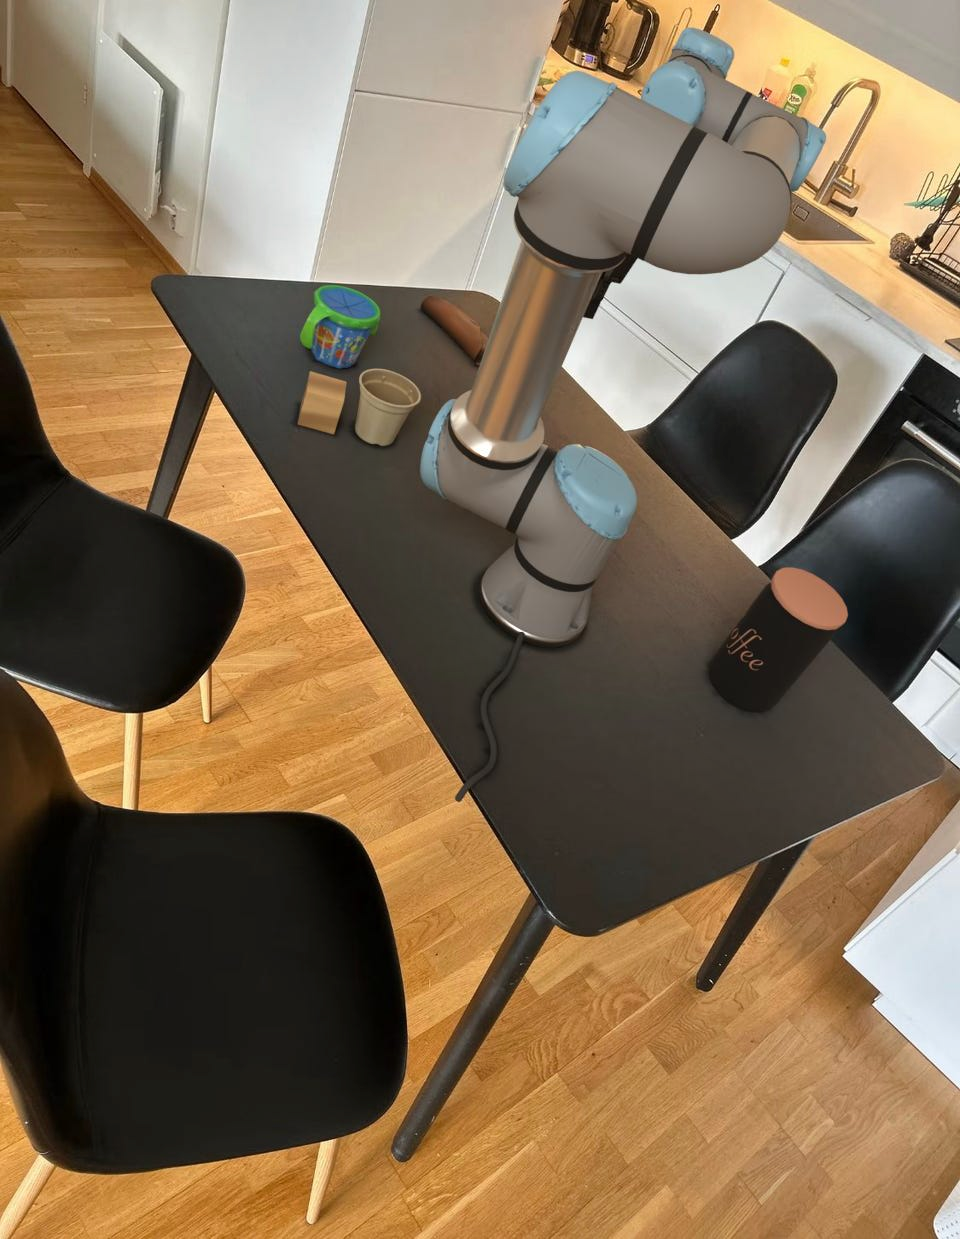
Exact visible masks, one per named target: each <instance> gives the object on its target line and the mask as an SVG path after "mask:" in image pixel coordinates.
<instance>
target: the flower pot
mask: <svg viewBox="0 0 960 1239" xmlns="http://www.w3.org/2000/svg"><path fill="white" fill-rule="evenodd" d="M358 382H359V383H358V384H359V392H360V394H359V400H358V407H357V413H356V417H355V418H356V419H355V424H354V429H355V433H356V435H357V436H358V437H359V438H360V439H361V440H362V441H364V442H366V443H368V444H370V445H378V446H380V447H386V446H389V445H392V444H393V443H394V441H395V439H396V438H397V435H398V434H399V432H400V430H401V429H402V426H403V425H404V423H405V421H406V419H407V418H408V416H409V414H410V412H412V411H413V410H414V408H415V407H416V406H417V405H418V404H419V403H420V402H421V400H422V394H421V390H420V389H419V387H418V386H417V385H416V384H415V383H414V382H413V381H411V380H410V379H409V378H407V377H406V376H404V375H402V374H400V373H398V372H395V371H392V370H389V369H385V368H370V369H366V370H364V371H362V372H361V373H360V375H359V378H358Z"/></svg>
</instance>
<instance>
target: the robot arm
mask: <svg viewBox="0 0 960 1239" xmlns="http://www.w3.org/2000/svg"><path fill="white" fill-rule="evenodd" d="M734 59H735V50H734V48H733V47H732V46H731V45H730V44H729V43H727V42H726V41H725V40H723V39H721V38H720V37H719V36H715V35H714V34H713V33H709V32H707V31H705V30H702V29H700V28H696V27H694V26H693V27H692V26H690V27H686V28H684V29H683V30H682V31H681V33H680V35H679V37H678V39H677V41H676V43H675V45H673V46H672V48H671V53H670V56H669V58H668V60H667V61H666V62H664V63H662V64H661V65H659V66H658V67H657V68H655V70H654V71H653V72H652V73H651V74H650V76H649V78H648V79H647V81H646V83H645V84H644V85H643V88H642V91H641V95H640V97H638V96H636V95H633V94H631V93H630V92H628V91H626V90H624V89H622V88H621V87H618V84H617V82H612V81H611V82H607V81H605V80H603V79H601V78H599V77H596V76H595V75H592V74H589V73H587V72H585V71H581V70H572V71H569V72H567V73H565V74H564V75H562V76H561V77H559V79H558V80H557V81H556V82H555V83H554V84H553V85H552V87H551V88H550V89H549V91H548V92H547V93H546V95H545V96H544V98H543V100H542V101H541V102H540V104H539V105H538V108H537V109H536V110H535V112H534V114H533V116H532V117H531V119H530V121H529V122H528V124H527V126H526V128H525V130H524V131H523V133H522V135H521V137H520V139H519V140H518V143H517V145H516V147H515V149H514V151H513V153H512V155H511V157H510V159H509V162H508V164H507V167H506V168H505V169H506V170H505V172H504V176H503V182H502V186H503V188H504V190H505V191H506V192H507V193H509V196H511V197H514V198H516V197H517V201H516V205H515V208H514V212H513V225H514V229H515V231H516V234H517V235H518V236H519V239H520V243H519V246H518V248H517V252H516V255H515V258H514V261H513V264H512V267H511V270H510V273H509V276H508V279H507V282H506V285H505V288H504V291H503V294H502V297H501V300H500V303H499V305H498V309H497V312H496V316H495V318H494V321H493V324H492V328H491V330H490V333H489V336H488V342H487V345H486V348H485V351H484V354H483V357H482V360H481V363H480V366H478V369H477V372H476V375H475V378H474V381H473V385H472V387H471V389H470V390H467V391H466V392H464V393H462V394H460V395H459V396H458V398H452V399H449V400H448V401H446V402H445V403H444V405H442V407H441V408H440V409H439V411H438V413H437V415H435V417H434V420H433V421H432V423H431V426H430V428H429V431H428V435H427V438H426V441H425V442H424V445H423V448H422V452H421V456H420V464H419V465H420V466H419V472H420V473H419V475H420V479H421V481H422V482H423V484H424V485H425V487H426V488H428V489H430V490H431V491H433V493H436V494H437V495H440V496H441V498H443V500H446V501H448V502H451V503H453V504H455V505H457V506H459V507H461V508H463V509H464V510H467V511H468V512H471V513H473V514H474V515H476V516H478V517H479V518H482V519H484V520H487V521H488V522H490V523H492V524H494V525H496V526H497V527H500V528H501V529H504V530H506V531H508V532H510V533H512V534H514V535H516V536H517V538H516V540H515V541H514V543H513V545H511V546H510V547H509V548H508V549H507V550H505V552H503V553H502V554H501V555H500V556H499V557H498V558H497V559H496V560H495V561H494V562H492V563H491V564H490V565H489V567H487V569H486V570H485V572H484V574H483V575H482V577H481V580H480V582H479V584H478V598H479V602H480V604H481V607H482V609H483V611H484V612H485V614H486V615H487V616H488V618H489V619H490V620H491V621H492V622H493V623H494V624H495V625H496V626H497V627H498V628H499V629H500V630H502V631H503V632H504V633H506V634H508V635H509V636H511V637H513V638H514V639H516V640H515V642H514V645H513V647H512V650H511V652H510V656H509V658H508V660H507V663H506V665H505V667H504V668H503V670H502V671H501V672H500V673H499V675H497V677H496V678H495V679H494V680H492V681H491V683H490V684H488V686H487V687H486V689H485V690H484V692H483V694H482V696H481V699H480V705H479V707H480V708H479V712H480V713H479V714H480V719H481V722H482V726H483V729H484V732H485V734H486V737H487V740H488V745H489V759H488V761H487V763H486V764H485V766H484V767H483V768H482V769H480V770H479V771H478V772H476V773H474V774H473V775H472V776H470V777H469V778H468V779H467V780H466V781H465V783H463V785H462V786H461V787H460V788H459V790H458V792H457V793H456V795H455V797H454V800H455V802H457V803H460V802H462V801H463V799H464V798H465V797H466V795H467V793H468V792H469V790H470V789H471V788H472V787H473V786H474V785H475V784H476V783H477V782H479V781H480V780H481V779H483V778H484V777H486V776H487V775H489V774H490V773H491V771H493V769H494V767H495V765H496V763H497V759H498V745H497V739H496V736H495V733H494V730H493V728H492V725H491V722H490V719H489V715H488V703H489V699H490V697H491V695H492V694H493V692H494V691H495V689H496V688H497V687H498V686H499V685H500V684H501V683H502V682H503V681H504V680H505V679H506V678H507V677H508V676H509V674H510V672H511V671H512V669H513V667H514V665H515V663H516V660H517V659H518V658H517V657H518V655H519V652H520V649H521V647H522V644H523V643H526V644H528V645H532V646H535V647H539V648H548V649H551V648H554V649H555V648H561V647H565V646H568V645H570V644H572V643H574V642H575V641H576V640H577V639H578V638H579V637H580V635H581V634H582V632H583V630H584V628H585V627H586V625H587V622H588V619H589V615H590V614H589V613H590V606H591V601H592V594H593V593H592V592H593V587H594V586H595V583H596V581H597V579H598V578H599V576H600V574H601V573H602V570H603V569H604V567H605V565H606V564H607V562H608V560H609V559H610V557H611V555H612V553H613V551H614V549H615V548H616V546H617V544H618V543H619V541H620V539H621V538H623V537H624V536H625V534H626V533H627V531H628V528H629V525H630V522H631V520H632V518H633V516H634V514H635V512H636V511H637V510H636V509H637V505H638V496H637V491H636V488H635V486H634V484H633V482H632V481H631V480H630V477H629V475H628V474H627V472H626V471H625V470H624V469H623V467H621V466H620V464H618V463H617V462H616V461H615V460H614V459H612V458H611V457H609V455H606V454H605V453H604V452H601V451H600V450H598V449H596V448H593V447H591V446H588V445H584V446H582V445H581V444H578V443H573V444H568V445H565V446H564V447H562V448H561V449H559V450H556V449H555V448H552V447H550V446H549V445H547V444H545V443H544V440H545V426H544V422H543V419H542V418H541V416H542V414H543V411H544V409H545V406H546V404H547V402H548V400H549V397H550V395H551V393H552V391H553V388H554V385H555V383H556V381H557V378H558V376H559V375H560V372H561V369H562V367H563V364H564V362H565V360H566V358H567V355H568V353H569V351H570V348H571V346H572V343H573V342H574V339H575V337H576V335H577V332H578V330H579V327H580V325H581V323H582V320H583V318H584V319H590V320H594V318H595V316H596V313H597V312H598V310H599V307H600V305H601V302H602V301H603V300H604V299H605V296H606V294H607V291H608V289H609V287H610V285H611V284H612V283H614V284H618V285H620V284H622V283H623V281H624V280H625V278H626V277H627V275H628V274H629V273H630V271H631V269H632V268H633V266H634V265H635V263H636V262H637V260H641V261H642V262H645V263H647V264H650V265H651V266H653V267H655V268H658V269H661V270H665V271H668V272H671V273H677V274H683V275H713V274H721V273H725V272H729V271H733V270H737V269H741V268H743V267H745V266H748V265H749V264H751V263H753V262H756V261H758V260H759V259H760V258H761V257H763V256H764V255H766V254H767V253H768V252H769V251H770V250H772V248H773V247H774V246H775V245H776V244H777V243H778V241H780V240H779V239H780V238H781V236H782V235H783V233H784V231H785V230H786V228H787V224H788V222H789V218H790V216H791V211H792V205H793V195H792V193H795V192H796V191H798V190H800V188H801V187H802V186H803V184H804V183H805V181H806V179H807V178H808V176H809V174H810V172H811V171H812V169H813V167H814V165H815V164H816V162H817V160H818V158H819V156H820V154H821V152H822V150H823V147H824V146H825V145H826V141H827V134H826V132H825V130H824V129H822V128H820V127H818V126H817V125H815V124H813V123H811V122H810V121H809V119H807V118H805V117H804V116H801V117H800V116H798V115H796V114H794V113H793V112H790V111H788V110H786V109H784V108H782V107H781V106H778V105H776V104H774V103H772V102H770V101H768V100H765V99H763V98H761V97H760V96H757V95H755V94H753V92H750V91H748V90H747V89H744V88H742V87H740V86H738V85H737V84H735V83H732V82H731V81H729V80H727V78H728V73H729V71H730V70H731V69H730V68H731V66H732V64H733V61H734ZM468 789H469V790H468Z"/></svg>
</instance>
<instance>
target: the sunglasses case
mask: <svg viewBox="0 0 960 1239" xmlns="http://www.w3.org/2000/svg"><path fill="white" fill-rule="evenodd" d="M420 310H422V311H423V312H424V313H425V314H426V315H427V316H429V317H430V319H432V320H433V321H434V322H435V323H437V325H439V326H440V327H441V328H442V329H443V330H444V331H445V332H446V334H448V335H449V336H450V337H451V338H452V339H453V340H454V341H455V342H456V344H457V345H458V346H459V347H460V348H461V349H462V350H464V352H465V353H466V354H467V355H468V356H469V357H470V358H471V360H473V361H474V363H475V365H476V366H478V367H479V366H480V363H481V360H482V357H483V354H484V351H485V348H486V345H487V342H488V339H489V337H488V336H487V335H486V334H485V333H484V331H482V327H481V326H480V325H479V324H478V323H477V322H476V321H475V320H474V319H473V318H471V316H470V315H468V314H466V312H464V311H463V310H461V308H459V307H457V305H454V304H452V303H451V302H449V301H448V300H445V299H443V298H441V297H439V296H436V295H429V296H427V297H425V298H424V299H423V301H422V302H421V305H420Z"/></svg>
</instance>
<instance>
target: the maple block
mask: <svg viewBox="0 0 960 1239" xmlns="http://www.w3.org/2000/svg"><path fill="white" fill-rule="evenodd" d="M346 388H347V381H345V380H342V379H339V378H335V377H332V376H329V375H325V374H322V373H318V372H315V371H311V370H310V371H309V374H308V377H307V381H306V384H305V388H304V392H303V395H302V399H301V403H300V407H299V414H298V418H297V425H298V426H301V427H305V428H309V429H313V430H315V431H320V432H324V433H327V434H330V435H335V433H336V429H337V426H338V423H339V420H340V416H341V413H342V410H343V408H344V403H345V397H346V390H347V389H346Z"/></svg>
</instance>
